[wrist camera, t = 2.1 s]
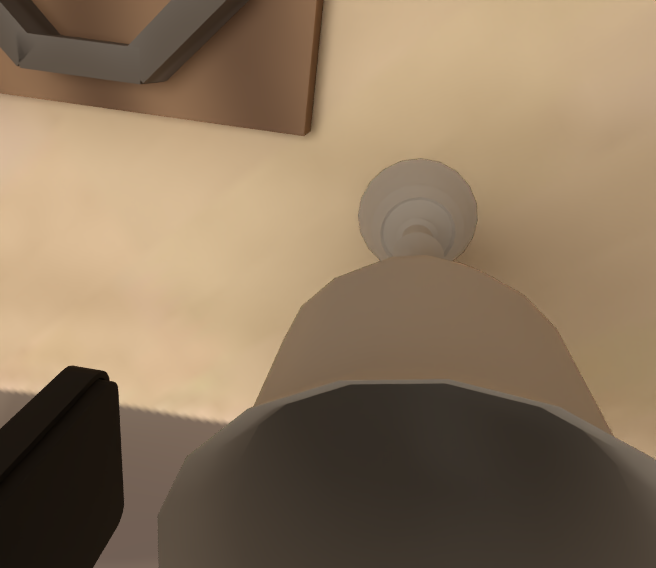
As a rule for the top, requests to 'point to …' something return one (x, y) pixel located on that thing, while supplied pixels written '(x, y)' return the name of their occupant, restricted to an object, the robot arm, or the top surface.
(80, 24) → the display stand
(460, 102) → the top surface
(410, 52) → the top surface
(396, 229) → the chalice
